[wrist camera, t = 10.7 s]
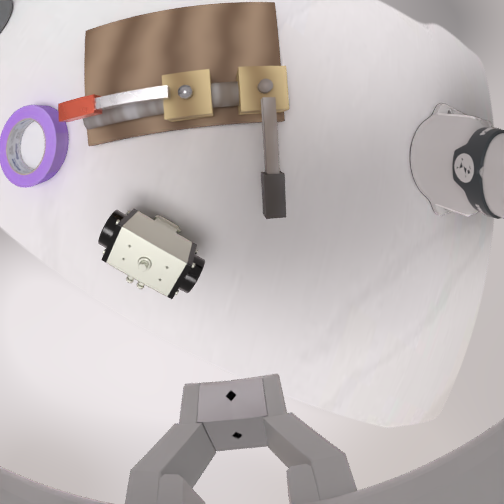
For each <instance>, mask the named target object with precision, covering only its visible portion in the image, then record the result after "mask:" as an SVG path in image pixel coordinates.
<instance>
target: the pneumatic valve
mask: <svg viewBox="0 0 504 504" xmlns="http://www.w3.org/2000/svg"><path fill="white" fill-rule="evenodd" d="M154 219H155V220H153V219H151V218H149V217H148V216H146V215H144V214H142V213H141V212H139V211H137V210H136V209H133V210H132V211H128V212H127V214H126V215H125V214H124V213H122V212H120V211H119V210H115V211H114V212H113V213H112V215H111V216H110V217H109V219H108V220H107V222H106V224H105V225H104V227H103V229H102V232H101V234H100V237H99V241H98V243H99V244H100V245H102V246H103V247H105V248H106V249H105V250H104V251H103V254H104V255H103V258H102V260H103V261H104V262H106V263H108V264H109V265H111V266H113V267H114V268H116V269H118V270H120V271H121V272H123V273H125V274H127V275H128V277H127V278H126V281H127V282H128V283H132V282H133V280H134V279H135V280H137V281H138V283H137V287H138V288H139V289H143V288H144V285H146V286H148V287H150V288H152V289H154V290H156V291H157V292H159V293H161V294H163V295H165V296H167V297H169V298H171V299H173V297H174V295H175V294H176V295H177V294H178V292H179V290H178V289H180V290H182V291H184V292H186V293H189V292H190V291H191V289H192V288H193V287H194V285H195V283H196V282H197V280H198V278H199V276H200V274H201V272H202V270H203V267H204V264H205V260H204V259H202V258H200V257H199V256H197V255H195V254H196V253H197V251H198V250H197V249H196V246H197V245H196V244H195V243H193V242H191V241H189V240H188V239H186V238H184V237H182V236H181V235H179V234H177V233H180V231H181V230H180V229H179V228H178V227H179V226H177V225H175V224H174V223H172V222H170V221H169V220H167V219H165V218H163V217H162V216H160V215H159V216H157V215H156V216H155V218H154ZM176 232H177V233H176Z"/></svg>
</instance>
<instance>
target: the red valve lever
mask: <svg viewBox="0 0 504 504" xmlns="http://www.w3.org/2000/svg"><path fill="white" fill-rule="evenodd" d="M178 95H179V96H180V97H181V98H182V99H185V100H186V99H189V98H191V97H192V95H193V90H192V89H191V87H190V86H188V85H182V86H181V87H180V88H179V89H178ZM166 99H170V87H169V86H168V85H165V86H158V87H151V88H144V89H138V90H132V91H127V92H121V93H116V94H111V95H107V96H99V95H95V94H92V95H88V96H84V97H81V98H77V99H73V100H70V101H66V102H63V103H60V104H58V113H59V122H70V121H74V120H78V119H82V118H87V117H91V116H95V115H100V114H102V110H105V109H110V108H115V107H120V106H126V105H131V104H137V103H144V102H151V101H158V100H166Z"/></svg>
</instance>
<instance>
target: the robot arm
mask: <svg viewBox="0 0 504 504" xmlns="http://www.w3.org/2000/svg"><path fill="white" fill-rule="evenodd" d="M410 160H411V169H412V174H413V177H414V180H415V182H416V185H417V186H418V188H419V190H420V191H421V192H422V193H423V194H424V195H425V196H426V197H427V198H428V199H429V201H430V202H431V205H432V208H433V210H434V212H435V213H436V214H438V215H445V214H448V213H451V212H456V213H459V214H462V215H465V216H469V217H470V216H471V215H472V214H476V213H478V212H481V213H483V214H484V215H487V216H489V217H494V218H497V219H499V218H503V219H504V130H501V129H499V128H493V127H492V123H491V122H489V121H486V120H482V119H481V118H479V117H474V116H469V115H465V114H463V113H461V112H459V111H458V110H456V109H454V108H452V107H450V106H448V105H446V104H443V103H439V104H438V105H437V106H436V108H435V110H434V112H433V114H432V116H431V117H429V118H428V119H427V120H425V121H424V122H423V123H422V124H421V125H420V127H419V128H418V130H417V131H416V133H415V136H414V138H413V142H412V146H411V155H410ZM262 379H263V380H262ZM264 392H265V393H264ZM265 446H268V447H269V448H270V450H271V451H272V452H273V453H274V454H275V455H276V456H277V457H278V458H279V459H280V460H281V461H282V462H283V463H284V464H285V465H286V466H287V467H288V468H289V469H288V470H287V483H288V496H289V502H290V504H504V419H502V420H501V421H499V422H498V423H497V424H495V425H494V426H492V427H491V428H489V429H488V430H486V431H485V432H483V433H482V434H480V435H479V436H477V437H475V438H474V439H472V440H470V441H469V442H467V443H466V444H464V445H462V446H460V447H458V448H457V449H455V450H453V451H451V452H450V453H448V454H446V455H444V456H442V457H440V458H438V459H436V460H434V461H432V462H430V463H428V464H426V465H423V466H421V467H419V468H417V469H415V470H412V471H410V472H408V473H405V474H403V475H400V476H398V477H395V478H393V479H390V480H387V481H385V482H382V483H379V484H376V485H373V486H371V487H367V488H364V489H361V490H358V491H357V488H356V485H355V482H354V479H353V476H352V473H351V470H350V467H349V463H348V461H347V458H346V454H345V453H344V452H342V451H341V450H340V449H338V448H337V447H336V446H334V445H333V444H331V443H330V442H329V441H327V440H326V439H325V438H323V437H322V436H321V435H320V434H318V433H317V432H315V431H314V430H313V429H312V428H310V427H309V426H308V425H307V424H305V423H304V422H303V421H302V420H300V419H299V418H298V417H297V416H296V415H294V414H293V413H287V412H286V407H285V402H284V396H283V392H282V387H281V382H280V377H279V375H278V374H272V375H266V376H258V377H252V378H244V379H237V380H231V381H222V382H221V381H220V382H206V383H190V384H185V386H184V388H183V395H182V404H181V412H180V420H179V424H174V425H173V426H172V427H171V428H170V429H169V430H168V432H167V433H166V434H165V435H164V436H163V437H162V438H161V439H160V440H159V441H158V442H157V443H156V444H155V445H154V447H153V448H152V449H151V450H150V451H149V452H148V453H147V454H146V455H145V456H144V457H143V458H142V459H141V460H140V461H139V462H138V463H137V464H136V465H135V466H134V467H133V468H132V469H131V471H130V477H129V482H128V488H127V494H126V500H125V504H205V502H204V501H203V500H202V499H201V498H200V496H199V495H198V494H197V493H196V492H195V491H194V490H193V489H192V488H193V486H194V485H195V484H196V482H197V481H198V479H199V478H200V476H201V475H202V473H203V472H204V470H205V469H206V467H207V466H208V464H209V463H210V461H211V460H212V458H213V457H214V455H215V453H216V451H224V450H233V449H243V448H255V447H265ZM0 504H112V503H107V502H102V501H98V500H94V499H90V498H86V497H82V496H78V495H75V494H71V493H68V492H64V491H61V490H58V489H55V488H52V487H49V486H46V485H44V484H41V483H38V482H36V481H33V480H30V479H28V478H26V477H23V476H21V475H18V474H16V473H14V472H12V471H9V470H7V469H5V468H3V467H1V466H0Z"/></svg>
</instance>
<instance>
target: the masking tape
mask: <svg viewBox="0 0 504 504" xmlns="http://www.w3.org/2000/svg"><path fill="white" fill-rule="evenodd" d="M33 121H36V122H37V123H38V124H39V125H40V126H41V128H42V130H43V133H44V137H45V150H44V154H43V157H42V160H41V162H40V163H39V165H38V166H37V168H36V169H32V168H30V167H28V166H27V165H26V164H25V162H24V161H23V159H22V156H21V150H20V144H21V139H22V136H23V133H24V131H25V129H26V128H27V127H28V125H29V124H31V123H32V122H33ZM68 140H69V139H68V129H67V125H66V122H59V113H58V111H57V110H56V109H54V108H52V107H49V106H40V105H28V106H24V107H22V108H20V109H18V110H17V111H16V112H14V113H13V114H12V115H11V117H10V118H9V119H8V121H7V122H6V124H5V126H4V128H3V131H2V134H1V137H0V164H1V167H2V170H3V172H4V174H5V176H6V177H7V178H8V179H9V181H10V182H12V183H13V184H15V185H16V186H19V187H31V186H34V185H37V184H39V183H42V182H44V181H47V180H48V179H50V178H52V177H53V176H54V175H55V174H56V173H57V172H58V170H59V169H60V167H61V166H62V164H63V162H64V160H65V157H66V154H67V150H68Z"/></svg>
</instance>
